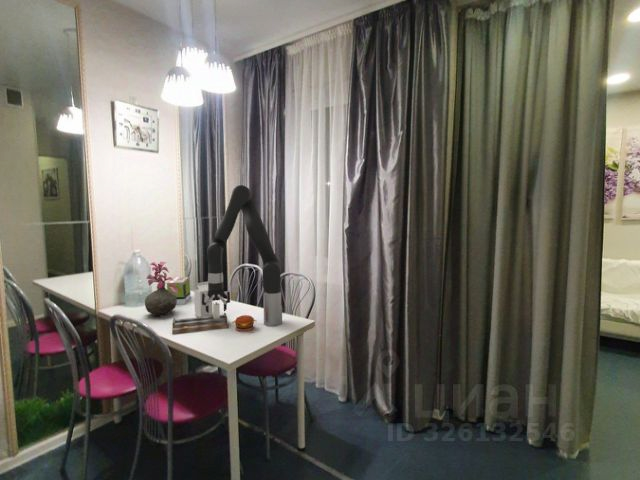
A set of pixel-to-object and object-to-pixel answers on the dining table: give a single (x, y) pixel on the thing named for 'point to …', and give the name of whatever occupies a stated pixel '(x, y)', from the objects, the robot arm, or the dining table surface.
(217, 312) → the fader tab
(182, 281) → the tea box
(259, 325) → the dining table surface
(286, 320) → the dining table surface
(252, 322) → the hamburger
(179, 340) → the dining table surface
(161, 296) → the vase
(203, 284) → the milk carton
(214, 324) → the fader console
